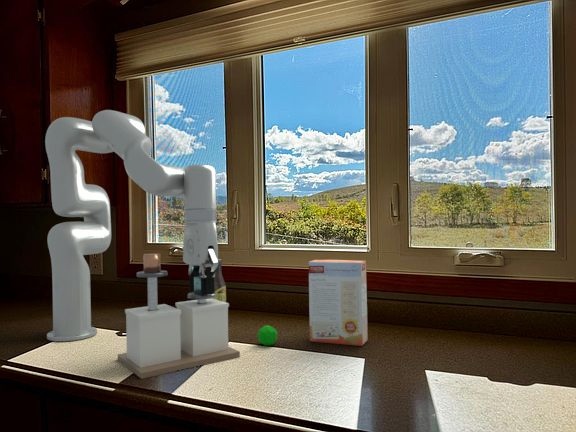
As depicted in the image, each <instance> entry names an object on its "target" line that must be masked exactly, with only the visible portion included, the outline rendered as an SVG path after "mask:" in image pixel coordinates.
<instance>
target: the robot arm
mask: <svg viewBox="0 0 576 432" xmlns="http://www.w3.org/2000/svg"><path fill="white" fill-rule="evenodd" d="M44 143H45V144H44V145H45V152H46V154H47V158H48V163H49V171H50V172H49V173H50V193H51V203H52V204H51V206H52V209H53V211H54V213H55V214H56V215H58V216H61V217H66V218H78V217H79V218H83V221H65V222H61V223H58V224H55V225H54V226H52V227H51V229H50V230H49V231H48V234H47V241H46V242H47V248H48V250H49V255H50V262H51V274H52V275H51V276H52V277H51V279H52V280H51V281H52V331H49V332H47V334H46V339H47V340H48V341H51V342H73V341H78V340H84V339H88V338H91V337H94V336H96V335H97V333H98V329H97V328H96V327H94V326H92V308H91V307H92V306H91V305H92V304H91V300H92V299H91V271H90V267H89V264H88V263H87V261H86V259H85V257H84V256H87V255H96V254H101V253H104V252H106V251H107V250H108V248H109V247H110V245H111V241H112V222H111V221H112V219H111V203H110V202H111V201H110V198H109V196H108V193H107V191H106V190H105V189H104V188H103V187H101V186H99V185H97V184H90V183H89V184H87V183H86V181H85V169H84V165H83V163H82V160H81V159H80V157H79V156H78V154H77V153H76V151H81V152H82V151H83V152H89V153H97V154H109V153H113V152H114V153H115V154H117V155H118V157H120V158H121V159H122V160H123V165H124V169H125V172H126V174H127V176H128V177H130V179H131V180H132V181H133V182H134V183H135V184H136V185H137V186H138V187H140V188H141V189H142V190H144V191H145V192H146V193H147V194H150V195H152V196H156V197H172V198H183V199H184V203H183V204H184V208H183V209H184V212H183V213H184V224H185V225H184V229H183V244H182V261H183V262H184V263H185V264H186V265H187V268H188V273H187V274H188V275H189V277H188V278H189V279H188V280H189V285H188V286H189V293H192V292H194V277H195V276H202V277H203V278H201V295H210V294H214V277H215V271H216V268H217V266H218V259H219V245H218V232H217V225H216V223H217V220H218V219H217V218H218V217H217V173H216V168H215V167H214V166H212V165H208V164H191V165H190V164H189V165H187V166H185V167H182V166H177V165H169V164H162V163H160V162H158V161H157V160H156V159H154V158H153V157H151V155H150V153H151V151H152V147H153V145H152V144H153V143H152V140H151V139H150V138H149V136H148V135H146V127H145V124H144V123H143V122H142V120H141V119H140V118H138V117H137V116H135V115H132V114H128V113H124V112H121V111H117V110H112V109H105V110H101V111H98V112H97V113H96V114H94V116H93V118H92V121H90V120H87V119H82V118H79V117H78V118H77V117H70V116H63V117H59V118H57V119H55V120H54V121H52V122H51V124H49V126H48V128H47V130H46V133H45V140H44Z"/></svg>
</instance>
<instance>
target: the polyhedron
mask: <svg viewBox="0 0 576 432" xmlns="http://www.w3.org/2000/svg"><path fill="white" fill-rule="evenodd" d="M257 339H258V343H260V344H262V345H263V346H265V347H270V346H272V345H274V344H275V343H276V341H277V339H278V331H277V330H276V329H275V327H273V326H272V325H271V326H270V324H269V325H268V324H267V325H264V326H263V327H261V328H260V329H259V330H258V332H257Z"/></svg>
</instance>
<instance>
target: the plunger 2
mask: <svg viewBox="0 0 576 432" xmlns="http://www.w3.org/2000/svg"><path fill="white" fill-rule="evenodd" d="M201 278H203V277H202V276H195V277H194V292H189V293H187V299H190V300H197V304H206V299H210V298H214V297H216V293H215V292H214V294H210V295H201Z"/></svg>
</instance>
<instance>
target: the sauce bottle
mask: <svg viewBox="0 0 576 432" xmlns="http://www.w3.org/2000/svg"><path fill="white" fill-rule="evenodd" d="M222 265H223V260H222V259H220V258H218V266H217V268H216V271H215V277H214V292H215V293H216V297H214V298H212V299H216V300H219V301H222V302H226V303H227V286H226V283H225V279H224V276H223V273H222Z"/></svg>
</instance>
